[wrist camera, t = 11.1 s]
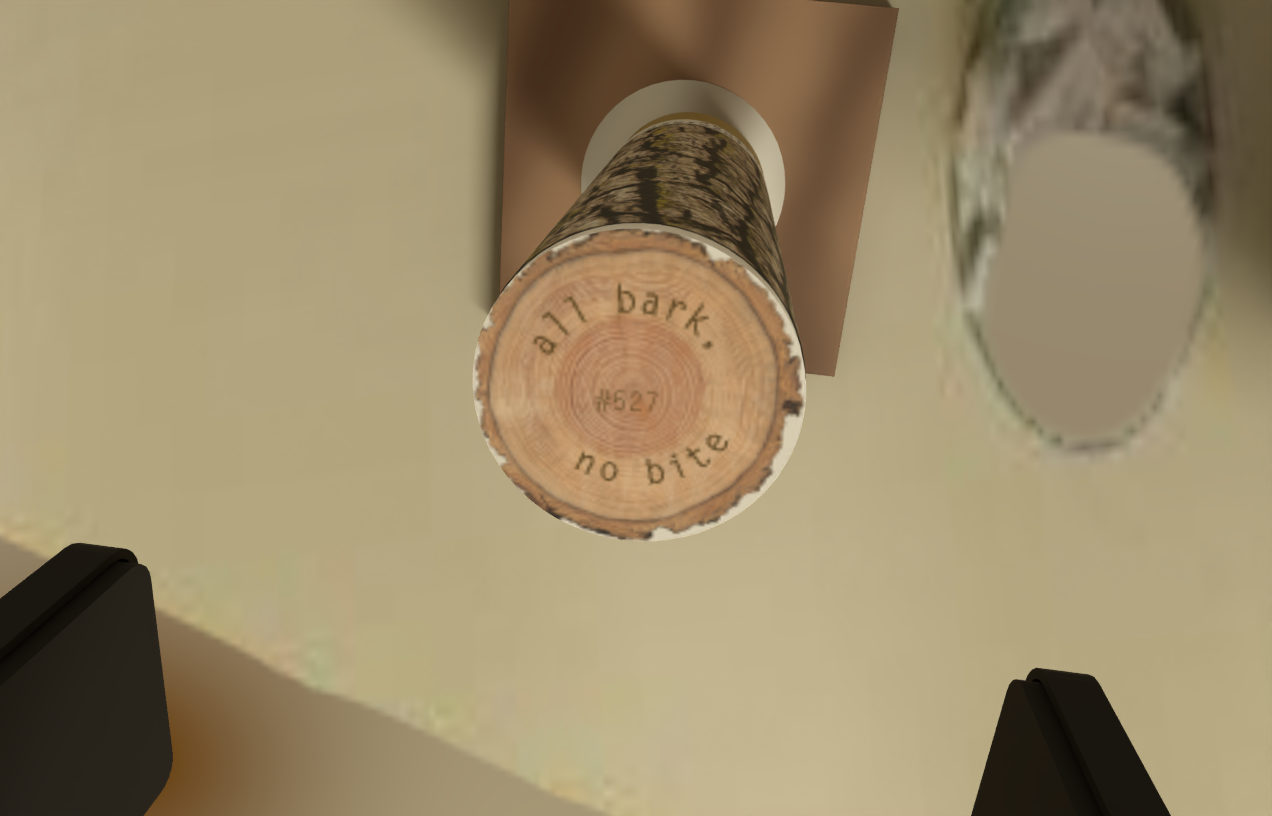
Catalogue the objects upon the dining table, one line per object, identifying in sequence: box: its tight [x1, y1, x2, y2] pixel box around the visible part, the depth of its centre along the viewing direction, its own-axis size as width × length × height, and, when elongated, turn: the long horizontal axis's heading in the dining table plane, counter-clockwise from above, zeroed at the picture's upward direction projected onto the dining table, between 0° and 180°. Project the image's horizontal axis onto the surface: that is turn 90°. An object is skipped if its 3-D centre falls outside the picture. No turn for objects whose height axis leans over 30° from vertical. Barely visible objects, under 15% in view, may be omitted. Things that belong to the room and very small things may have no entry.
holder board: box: [500, 0, 899, 376], centre depth 43 cm, size 16×16×2 cm
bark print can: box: [473, 112, 806, 541], centre depth 31 cm, size 7×7×25 cm
